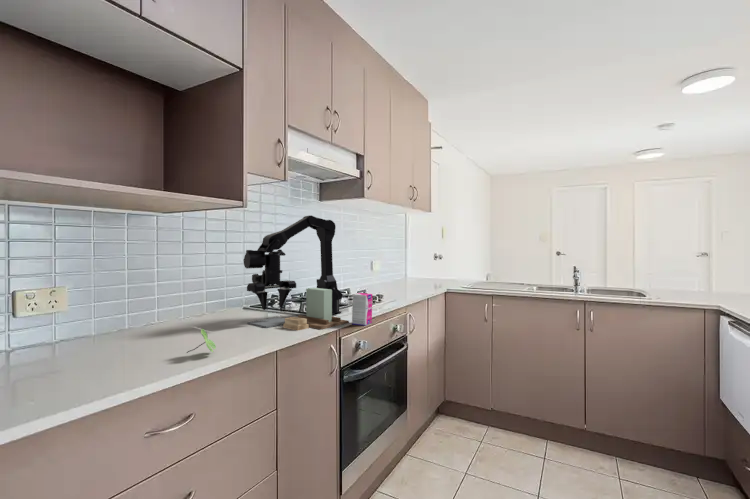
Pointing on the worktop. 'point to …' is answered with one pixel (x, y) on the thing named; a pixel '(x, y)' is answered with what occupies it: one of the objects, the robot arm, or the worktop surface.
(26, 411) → the worktop surface
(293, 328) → the offcut lower
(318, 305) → the sage green block
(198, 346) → the seedling
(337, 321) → the rack
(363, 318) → the supplement box
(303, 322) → the offcut upper
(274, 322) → the mat
